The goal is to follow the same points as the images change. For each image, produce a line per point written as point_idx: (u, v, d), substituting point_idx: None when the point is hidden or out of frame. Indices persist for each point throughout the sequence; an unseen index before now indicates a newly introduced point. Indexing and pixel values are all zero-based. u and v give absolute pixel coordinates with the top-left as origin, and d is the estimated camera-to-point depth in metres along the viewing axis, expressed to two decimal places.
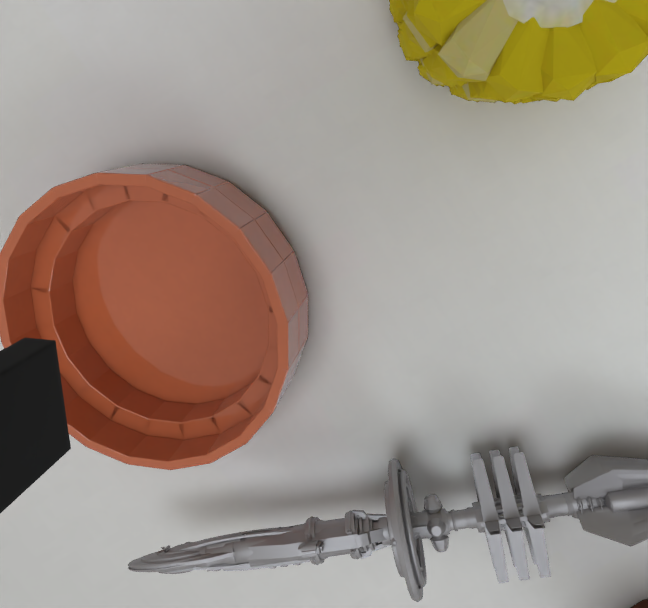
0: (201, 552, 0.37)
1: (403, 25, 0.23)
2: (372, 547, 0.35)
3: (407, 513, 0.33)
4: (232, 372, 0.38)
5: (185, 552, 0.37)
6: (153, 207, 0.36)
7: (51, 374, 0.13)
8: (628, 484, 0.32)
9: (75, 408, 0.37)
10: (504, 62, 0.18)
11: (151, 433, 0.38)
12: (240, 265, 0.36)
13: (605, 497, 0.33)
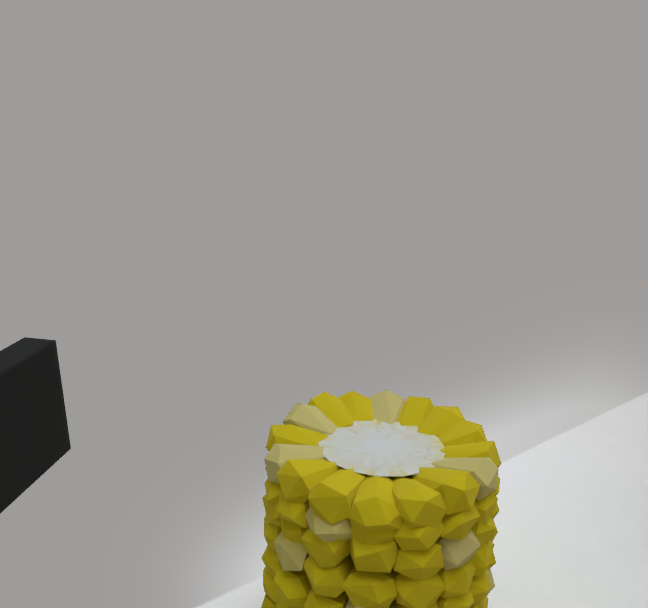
0: None
1: None
2: None
3: None
4: None
5: None
6: None
7: (52, 374, 0.13)
8: None
9: None
10: (477, 452, 0.23)
11: None
12: None
13: None
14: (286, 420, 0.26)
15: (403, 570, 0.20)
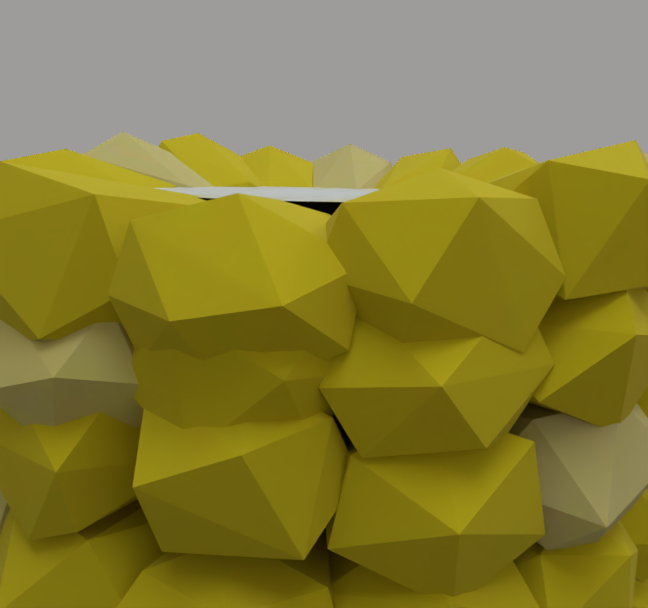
0: None
1: None
2: None
3: None
4: None
5: None
6: None
7: None
8: None
9: None
10: None
11: None
12: None
13: None
14: None
15: (368, 548, 0.04)
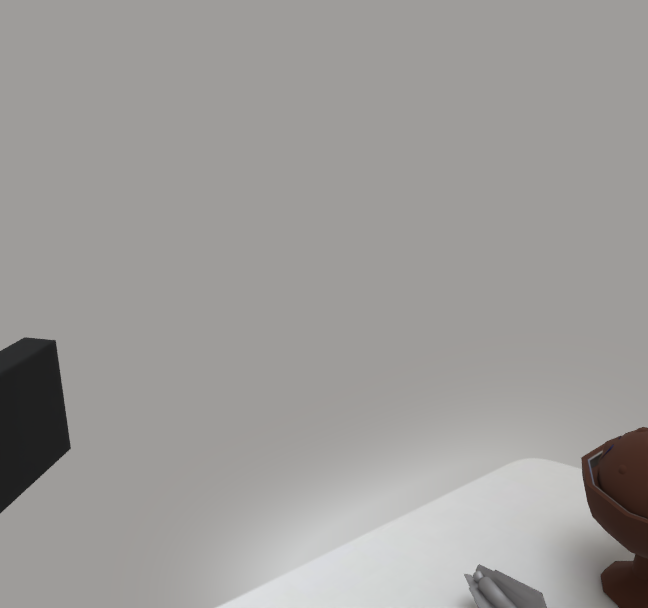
0: None
1: None
2: None
3: None
4: None
5: None
6: None
7: (52, 374, 0.13)
8: None
9: None
10: None
11: None
12: None
13: None
14: None
15: None
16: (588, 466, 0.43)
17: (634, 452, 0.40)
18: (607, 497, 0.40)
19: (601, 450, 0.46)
